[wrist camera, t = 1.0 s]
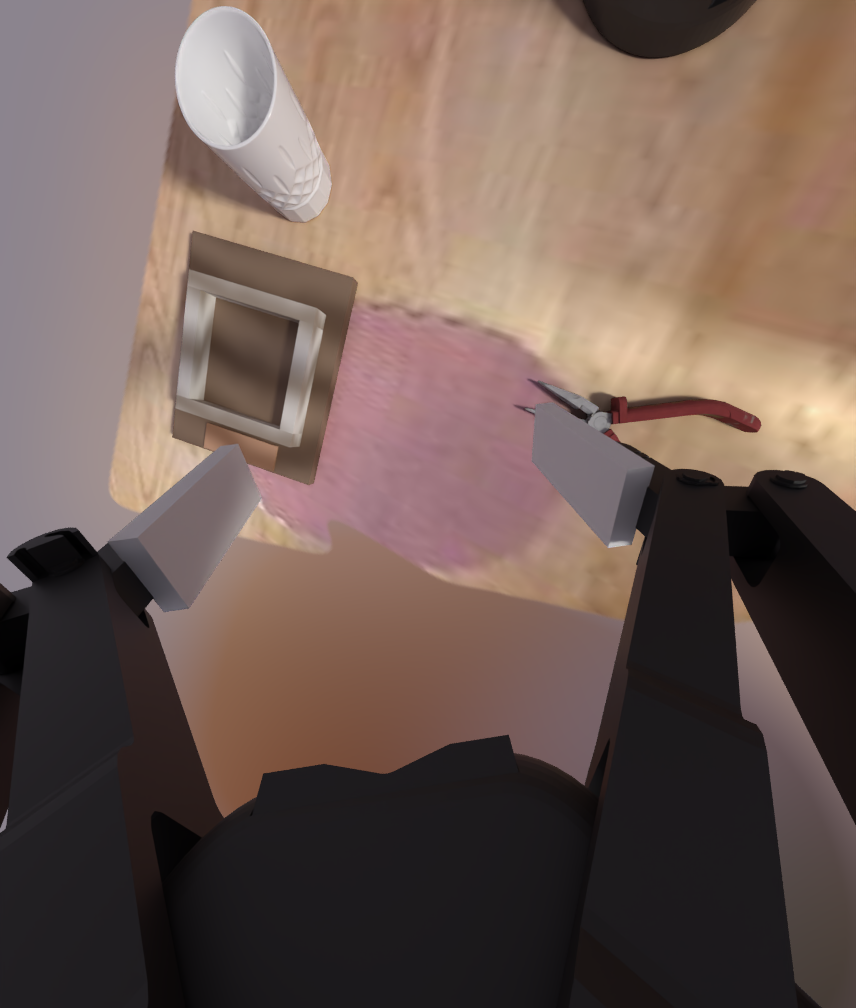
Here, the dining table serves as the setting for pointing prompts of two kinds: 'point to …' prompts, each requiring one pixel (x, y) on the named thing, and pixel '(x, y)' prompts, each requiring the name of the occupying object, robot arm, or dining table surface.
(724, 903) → the robot arm
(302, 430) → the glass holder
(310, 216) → the white cup
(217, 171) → the dining table surface
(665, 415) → the pliers
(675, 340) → the dining table surface
